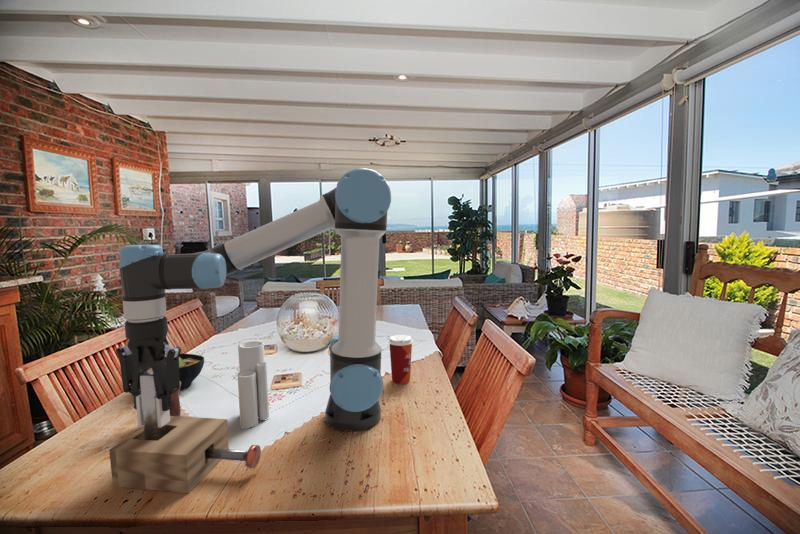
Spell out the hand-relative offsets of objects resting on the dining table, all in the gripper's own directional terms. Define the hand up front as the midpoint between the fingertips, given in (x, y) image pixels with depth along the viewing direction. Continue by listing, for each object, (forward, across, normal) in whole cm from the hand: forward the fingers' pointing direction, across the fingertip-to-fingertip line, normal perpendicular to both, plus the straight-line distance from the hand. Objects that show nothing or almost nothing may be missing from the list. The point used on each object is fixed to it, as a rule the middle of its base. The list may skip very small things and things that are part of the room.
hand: (154, 423), depth 83 cm
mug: (+10, +12, -16) cm, 23 cm away
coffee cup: (+10, -48, -52) cm, 71 cm away
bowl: (+10, +26, -39) cm, 48 cm away
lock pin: (+8, -16, 0) cm, 18 cm away
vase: (+10, -10, -23) cm, 27 cm away
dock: (+10, -4, 0) cm, 11 cm away
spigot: (+3, 0, 0) cm, 3 cm away
